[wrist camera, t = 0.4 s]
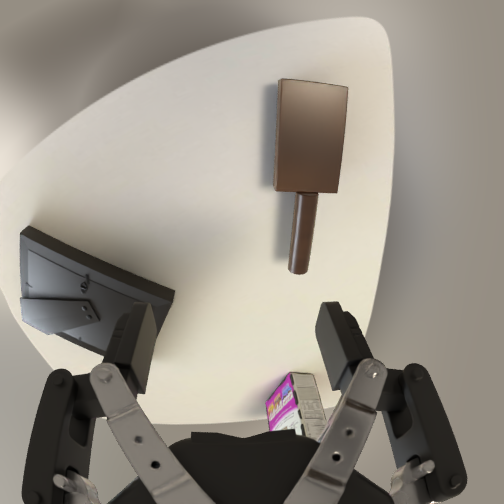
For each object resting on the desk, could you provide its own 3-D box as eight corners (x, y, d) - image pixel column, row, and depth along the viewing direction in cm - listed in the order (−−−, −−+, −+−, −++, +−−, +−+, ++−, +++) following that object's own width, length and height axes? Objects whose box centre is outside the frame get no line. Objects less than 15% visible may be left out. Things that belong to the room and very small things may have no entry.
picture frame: (29, 308, 32) (145, 360, 38) (22, 320, 30) (141, 374, 36) (28, 225, 25) (175, 290, 32) (16, 236, 23) (171, 306, 29)
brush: (275, 80, 21) (283, 77, 17) (335, 87, 21) (352, 87, 18) (266, 253, 30) (271, 275, 27) (316, 252, 30) (327, 273, 27)
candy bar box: (288, 403, 48) (301, 478, 34) (264, 402, 47) (274, 480, 33) (316, 372, 43) (338, 459, 29) (289, 370, 42) (307, 463, 28)
